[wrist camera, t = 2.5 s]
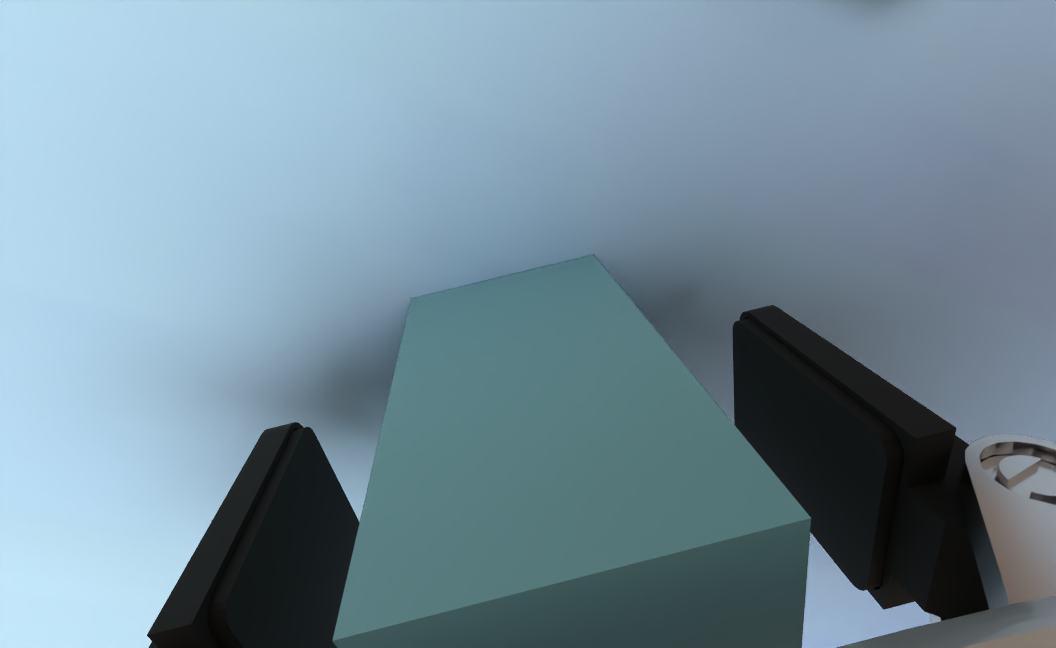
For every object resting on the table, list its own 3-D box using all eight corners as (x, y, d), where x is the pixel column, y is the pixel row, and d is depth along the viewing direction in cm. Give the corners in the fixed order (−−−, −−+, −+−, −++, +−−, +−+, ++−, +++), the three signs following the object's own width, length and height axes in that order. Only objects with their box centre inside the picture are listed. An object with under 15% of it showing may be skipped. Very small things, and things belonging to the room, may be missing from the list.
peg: (593, 254, 12) (810, 518, 4) (616, 404, 14) (793, 756, 6) (410, 298, 12) (332, 640, 4) (460, 443, 13) (461, 846, 6)
